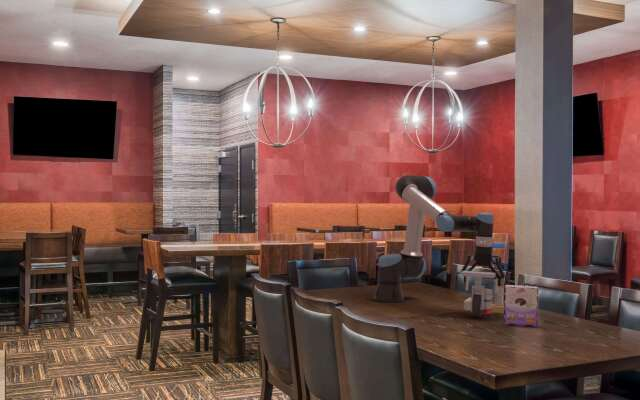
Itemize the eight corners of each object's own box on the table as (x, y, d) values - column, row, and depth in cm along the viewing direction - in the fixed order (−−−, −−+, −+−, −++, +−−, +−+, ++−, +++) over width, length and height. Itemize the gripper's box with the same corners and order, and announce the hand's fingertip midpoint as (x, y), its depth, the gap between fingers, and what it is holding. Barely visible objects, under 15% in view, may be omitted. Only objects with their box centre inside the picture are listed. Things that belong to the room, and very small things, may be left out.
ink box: (492, 314, 318) (493, 288, 318) (485, 315, 314) (486, 289, 314) (477, 312, 324) (478, 286, 324) (470, 312, 321) (471, 287, 321)
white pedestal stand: (459, 317, 307) (460, 272, 307) (463, 313, 317) (465, 270, 317) (491, 320, 301) (492, 274, 301) (494, 316, 311) (496, 272, 311)
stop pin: (494, 311, 326) (494, 286, 326) (495, 310, 329) (496, 285, 329) (501, 312, 325) (502, 287, 325) (503, 311, 328) (503, 286, 328)
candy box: (537, 325, 293) (539, 286, 293) (537, 327, 287) (538, 287, 287) (504, 322, 297) (505, 284, 297) (503, 324, 292) (504, 285, 292)
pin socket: (487, 312, 325) (487, 305, 325) (490, 309, 333) (490, 303, 333) (506, 313, 321) (507, 307, 321) (509, 311, 329) (509, 305, 329)
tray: (484, 312, 324) (485, 303, 324) (463, 310, 328) (463, 301, 328) (490, 307, 339) (490, 299, 339) (470, 306, 343) (470, 297, 343)
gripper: (455, 244, 321) (453, 289, 321) (510, 248, 311) (507, 295, 311) (458, 243, 328) (456, 288, 328) (512, 247, 318) (510, 293, 318)
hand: (481, 291), depth 320 cm, fingers open, 13 cm apart
